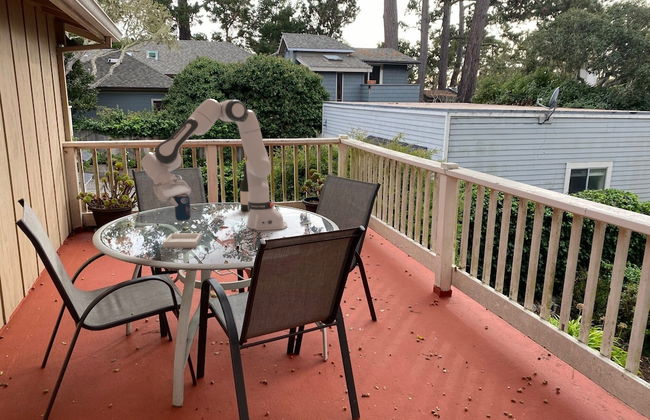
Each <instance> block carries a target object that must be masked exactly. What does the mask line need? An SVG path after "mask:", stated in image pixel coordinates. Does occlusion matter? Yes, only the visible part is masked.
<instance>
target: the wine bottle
mask: <svg viewBox="0 0 650 420" xmlns="http://www.w3.org/2000/svg"><path fill="white" fill-rule="evenodd" d="M239 190H240V191H239V193H240V194H239V196H240V197H239V198H240V199H239V200H240V211H241V212H249V211H248V201H249V188H248V180H247V171H246V162H244V163H243V178H242V181H241V182H240V183H239Z"/></svg>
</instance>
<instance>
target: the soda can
mask: <svg viewBox="0 0 650 420" xmlns="http://www.w3.org/2000/svg"><path fill="white" fill-rule="evenodd" d="M190 199H191V198H190V197H189V195H187V194H182V195H178V196H176V197H175V199H174V200H175V201H176V202H178V203H179V206H177V207H175V206H174V209H175V210H174V213H175V214H174V215H175V219H176V220H177V221H178V222H187V221H189V220H190V219H191V217H192V215H191V204H190V203H191V200H190Z"/></svg>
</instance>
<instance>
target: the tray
mask: <svg viewBox="0 0 650 420" xmlns="http://www.w3.org/2000/svg"><path fill="white" fill-rule="evenodd" d="M202 239H203V238H202V233H201V232H200V233H199V232H198V233H197V232H195V233H193V232H192V233H191V232H190V233H189V232H188V233H187V232H186V233H179V232H178V233H170V234H169V235H168V236H167V237H166V239H165V240H164V241H162V242H163V249H196V248H198V246H199V244H200V242H201V241H202Z"/></svg>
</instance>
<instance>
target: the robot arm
mask: <svg viewBox="0 0 650 420" xmlns="http://www.w3.org/2000/svg"><path fill="white" fill-rule="evenodd" d="M217 121H220V122H223V123H235V124H236V125H237V127H238V132H239V136H240V139H241V145H242V148H243V151H244V153H245V156H246V161H245V163H246V171H247V180H248V188H249V201H248V211H247V212H248V216H247V223H246V228H247V229H251V230H255V231H272V230H284V229H286V228H288V222H286V221H285V220H284V218H283V217H284V216H283V215H282V213H281V212H280V211H278V210H277V209H275V208H274V203H273V201H270V188H269V187H270V186H269V182H268V176H269V175H270V174H271V172H272V165H271V160H270V158H269V156H268V152H267V149H266V147H265V144H264V139H263V135H262V132H261V126H260V124H259V123H260V122H259V120H258V118H257V115H256V113H255V111H253V110H251V109H248V108H247V107H246V105H245V104H244V102H243V101H241V100H238V99H227V100H223V101H219V102H218V101H217V100H215V99H213V98H207V99H206V100H204V101H202V103H200V104H199V105H198V107H197V108H196V109H195V110H194V111H193V112H192V113H191V115H189V117H188V118H187V119H186V120H185V121H184V122H183V123H182V124H181V125H180V126H179V127H178V128H177V129H176V130H175V131H174V132H173V133H172V135H170V137H168V138H167V139H166V140H163V141H162V142H160V143H159V144H158V145H157V146H156V147H155V150H154V151H155V152H148V153H146V154H145V155H144V156H143V157H142V159H141V162H140V165H141V167H142V169H143V170H144V172H145V173H146V175H147V176H148V177H149V178H151V180H152V181H153V183H154V184H153V185H152V190H153V191H154V194H155V196H156V197H157V198H158V200H159V201H160V202H161V203H165V202H169V204H172V205H173V206H174V208H175V207H177V206H179V203H178V202H176V201H175V197H176V196H178V195H182V194H187V195H188V196H189V195H190V194H191V193H192V188H191V187H190V186H189V185H188V183H187V182H186V181H185V180H183V177H182V176H181V175H179V174H175V173H174V174H173V173H171V172H173V171H175V170H177V169H178V168H180V167H181V165H182V163H183V160H182V159H183V158H182V155H181V154H180V153H179V152H180V148H181V147H182V145H184V143H185V142H186V141H187V140H188V139H189V138H190V137H192V136H193V135H197V136H203V135H204V134H206V133H208V131H210V129H211V128H212V127H213V125H215V123H216V122H217Z"/></svg>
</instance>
